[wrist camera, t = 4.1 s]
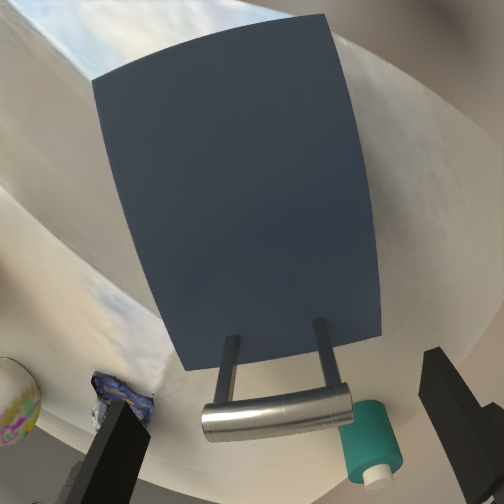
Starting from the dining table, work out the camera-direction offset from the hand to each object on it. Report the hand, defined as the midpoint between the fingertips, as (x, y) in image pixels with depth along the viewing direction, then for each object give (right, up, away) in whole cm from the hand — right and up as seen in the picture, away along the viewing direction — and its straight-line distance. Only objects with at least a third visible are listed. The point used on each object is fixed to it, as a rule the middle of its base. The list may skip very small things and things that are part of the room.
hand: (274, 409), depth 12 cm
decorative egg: (-38, -14, +24) cm, 48 cm away
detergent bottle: (+13, -15, +22) cm, 30 cm away
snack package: (-18, -13, +23) cm, 32 cm away
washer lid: (-1, +9, +4) cm, 10 cm away
